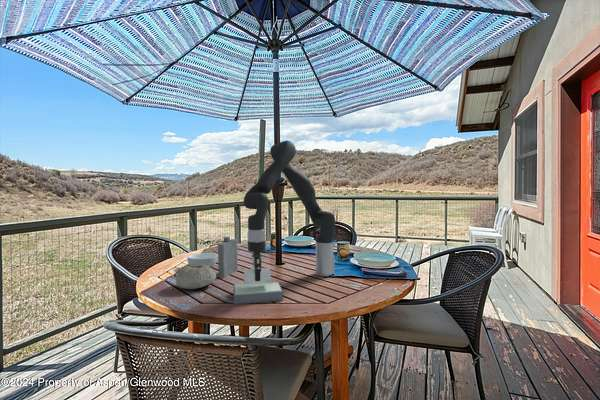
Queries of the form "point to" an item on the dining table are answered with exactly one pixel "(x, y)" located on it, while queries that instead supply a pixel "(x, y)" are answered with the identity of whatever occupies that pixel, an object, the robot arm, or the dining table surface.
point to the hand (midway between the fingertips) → (257, 278)
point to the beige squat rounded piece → (195, 276)
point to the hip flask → (227, 257)
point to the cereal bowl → (203, 259)
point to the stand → (257, 293)
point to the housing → (250, 276)
